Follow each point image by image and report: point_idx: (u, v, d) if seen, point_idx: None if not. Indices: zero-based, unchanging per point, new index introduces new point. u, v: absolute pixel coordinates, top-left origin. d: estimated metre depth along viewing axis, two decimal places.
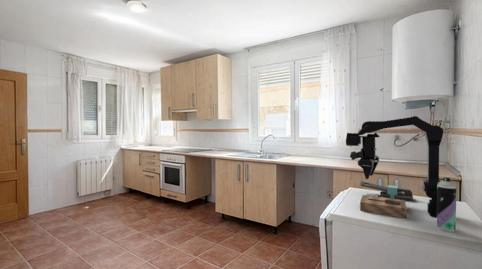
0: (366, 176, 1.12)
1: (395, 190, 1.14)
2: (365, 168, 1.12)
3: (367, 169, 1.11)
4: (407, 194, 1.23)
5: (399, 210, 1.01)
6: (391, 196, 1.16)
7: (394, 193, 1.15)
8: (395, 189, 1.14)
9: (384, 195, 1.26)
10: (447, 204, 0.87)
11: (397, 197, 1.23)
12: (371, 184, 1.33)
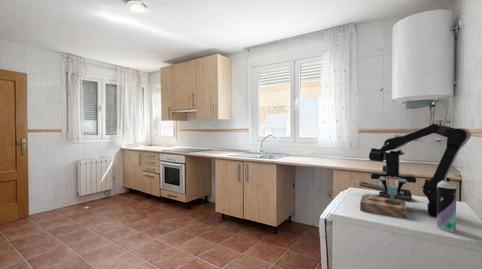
0: None
1: (395, 190, 1.14)
2: None
3: None
4: (406, 194, 1.23)
5: (399, 210, 1.01)
6: (391, 196, 1.16)
7: (394, 193, 1.15)
8: (395, 189, 1.14)
9: (383, 195, 1.26)
10: (447, 204, 0.87)
11: (396, 197, 1.23)
12: (370, 184, 1.33)
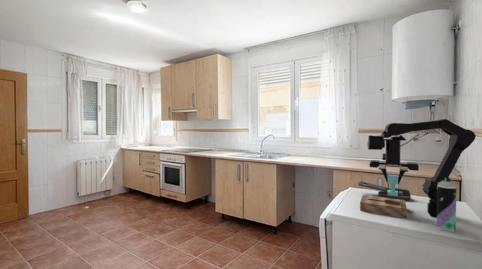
0: None
1: (396, 179, 1.05)
2: None
3: None
4: (405, 194, 1.23)
5: (399, 210, 1.01)
6: (391, 186, 1.07)
7: (395, 182, 1.06)
8: (396, 178, 1.05)
9: (382, 195, 1.27)
10: (447, 204, 0.87)
11: (395, 197, 1.23)
12: (369, 184, 1.34)
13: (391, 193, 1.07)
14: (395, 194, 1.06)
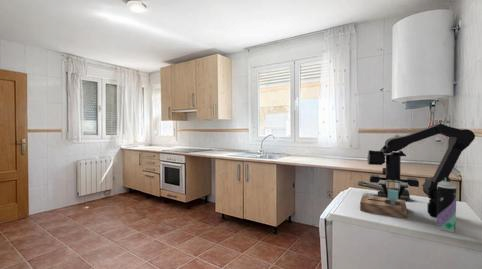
0: None
1: (396, 195, 1.05)
2: None
3: None
4: (404, 194, 1.24)
5: (399, 210, 1.01)
6: (392, 201, 1.07)
7: (395, 198, 1.06)
8: (396, 194, 1.05)
9: (381, 195, 1.27)
10: (447, 204, 0.87)
11: None
12: (369, 184, 1.34)
13: None
14: None
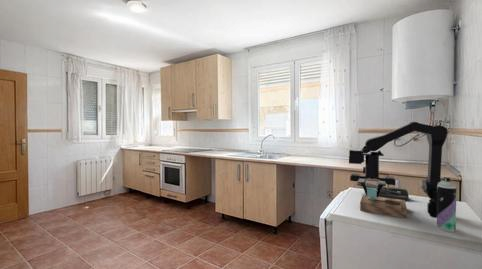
0: None
1: (374, 193, 1.10)
2: None
3: None
4: (403, 194, 1.24)
5: (399, 210, 1.01)
6: (371, 199, 1.12)
7: (373, 196, 1.10)
8: (374, 191, 1.10)
9: (380, 194, 1.28)
10: (447, 204, 0.87)
11: (393, 196, 1.24)
12: (368, 183, 1.35)
13: None
14: None
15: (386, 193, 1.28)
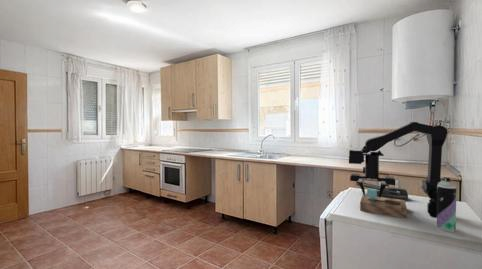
0: (363, 192, 1.14)
1: (374, 193, 1.10)
2: None
3: None
4: (402, 193, 1.24)
5: (399, 210, 1.01)
6: (371, 199, 1.12)
7: (374, 196, 1.10)
8: (374, 192, 1.10)
9: None
10: (447, 204, 0.87)
11: (392, 196, 1.24)
12: (367, 184, 1.35)
13: None
14: None
15: (386, 193, 1.28)
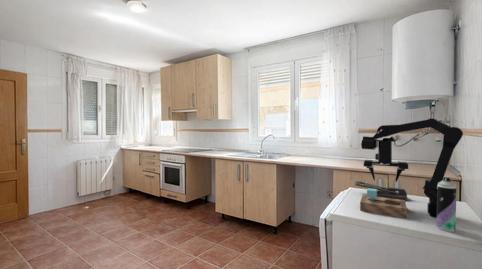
0: (373, 177, 1.19)
1: (374, 193, 1.10)
2: None
3: None
4: (401, 193, 1.24)
5: (399, 210, 1.01)
6: (371, 199, 1.12)
7: (373, 196, 1.10)
8: (374, 192, 1.10)
9: (379, 194, 1.28)
10: (447, 204, 0.87)
11: (391, 196, 1.24)
12: (366, 184, 1.35)
13: None
14: None
15: (385, 193, 1.28)
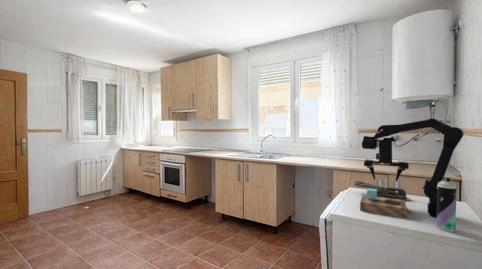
0: (373, 176, 1.19)
1: (374, 193, 1.10)
2: None
3: None
4: (401, 193, 1.24)
5: (399, 210, 1.01)
6: (371, 199, 1.12)
7: (373, 196, 1.10)
8: (374, 192, 1.10)
9: (378, 194, 1.28)
10: (447, 204, 0.87)
11: (391, 196, 1.24)
12: (365, 183, 1.35)
13: None
14: None
15: (384, 193, 1.28)
